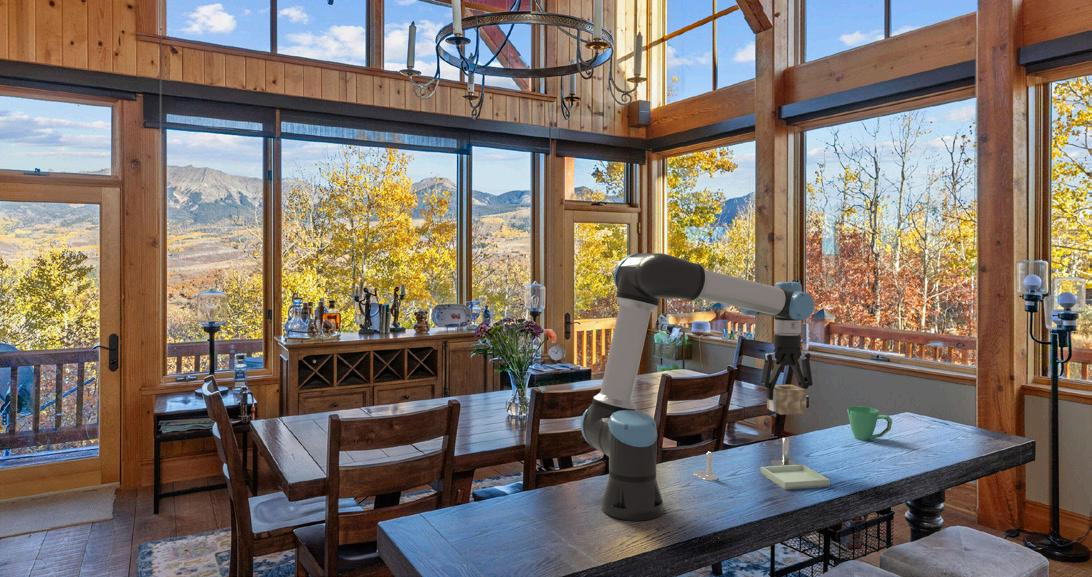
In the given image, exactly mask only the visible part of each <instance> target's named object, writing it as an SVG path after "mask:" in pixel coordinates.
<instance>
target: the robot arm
mask: <svg viewBox="0 0 1092 577" xmlns="http://www.w3.org/2000/svg"><path fill="white" fill-rule="evenodd" d="M613 283H614V284H615V286H616V289H617V290H616V295H615V300H616V301H617V303H618V305H619V306H618V310H617V316H616V320H615V324H614V329H613V333H612V334H613V335H612V338H611V342H610V347H609V352H608V355H607V356H608V357H607V360H606V361H607V362H606V364H605V369H604V374H603V379H602V383H601V388H600V392H598V393H597V394H596V395H594V396H593V398H592V401H591V405H590V406H589V407H588V408H587V409H585V411H584V412H583V414H582V416H581V419H580V430H581V434H582V437H583V438H584V440H585V441H586V443H587V444H589V445H590V446H591V447H592V448H593V449H595V450H596V451H599V452H600V453H602V454H604V455H606V456H607V457H608V480H607V482H606V486H605V488H604V492H603V495H602V497H601V498H602V499H601V510H602V511H603V512H604V513H605V514H607V515H608V516H610V517H613V518H615V519H619V520H622V521H634V522H635V521H639V522H641V521H648V520H654V519H656V518H658V517H660V516H661V515H662V514H663V513H664V499H663V496H662V493H661V490H660V487H659V483H658V481H657V454H658V453H657V450H658V449H657V448H658V447H657V444H658V442H657V441H658V440H657V439H658V431H657V423H656V421H655V419H654V418H653V417H652V416H651V415H649V414H648V413H646V412H645V413H644V412H643V411H642V412H641V411H640V412H639V411H637V410H636V405H635V404H634V402H633V395H634V390H635V387H636V386H635V385H636V382H637V376H638V373H639V368H640V365H641V364H640V362H641V360H642V359H641V358H642V354H643V350H644V345H645V340H646V336H647V331H648V327H649V324H650V318H651V314H652V312H653V311H655V310H657V309H658V308H659V304H660V299H675V300H676V299H677V300H687V301H691V302H694V301H697V299H700V300H704V301H709V302H713V303H718V304H722V305H725V306H730V307H731V306H732V307H735V308H739V309H740V311H741V313H742V314H744V315H745V316H754V317H755V316H765V317H772V318H774V328H773V332H774V333H775V334H774V336H773V346H774V350H773V351H772V352H769V353H767V352H765V353H764V354H763V359H764V365H763V369H762V375H761V382H760V386H761V387H764V388H766V400H767V399H769V409H768V410H769V411H771V412H774V413H776V391H777V390H776V389H774V387H775V385H777V383H778V380H779V377H780V375H781V372H782V371H783V369H784V367H787V366H790V367H791V369H792V371H793V375H794V376H795V379H796V382H797V385H798V387H800V388H803V389H806V390H807V389H809V387H811V386H813V377H812V370H811V363H810V359H811V353H809V352H805V351H802V350H801V346H802V336H801V335H800V334H801V333H802V321H803V320H806V319H807V320H808V318H810V317H811V316H812V315H813V312H814V309H815V301H814V299H813V296H812V295H811V294H809V293H808V292H805V291H803V289H802V288H803V286H802V284H801V283H800V282H798V281H777V282H776V283H775V284H774V285H769V284H765V283H761V282H758V281H753V280H748V279H745V278H742V277H741V278H740V277H738V276H737V277H736V276H733V275H728V274H724V273H721V272H716V271H711V270H708V269H705V267H704V265H702V264H700V263H696V262H693V261H689V260H686V259H683V258H680V257H677V256H675V255H674V256H673V255H669V254H666V253H661V252H660V253H658V252H657V253H653V252H651V253H648V252H646V253H644V252H636V253H633V254H629V255H627V256H625V257H623V258H622V259H621V260H620V261H619V262H618V263H617V264H616V267H615V268H614V272H613ZM774 358H775V361H774ZM800 359H801V361H800V362H801V364H800V362H799V360H800ZM773 361H774V365H773ZM801 369H802V370H801Z"/></svg>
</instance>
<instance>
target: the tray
mask: <svg viewBox="0 0 1092 577" xmlns="http://www.w3.org/2000/svg"><path fill="white" fill-rule="evenodd" d="M760 475H762V476H763V477H765V478H766V479H768V480H769V481H771V483H772V482H773V484H775V485H777V486H778V487H780V488H782V489H783V490H784V491H787V490H788V491H789V490H801V489H818V488H830V486H831V484H830V483H831V480H830V478H828V477H826V476H824V475H822V474H820V473H819V472H817V471H815V470H813V469H812V468H809V467H808V466H806V465H804V464H798V465H786V466H774V465H772V466H760Z"/></svg>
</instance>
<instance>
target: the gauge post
mask: <svg viewBox="0 0 1092 577" xmlns="http://www.w3.org/2000/svg"><path fill="white" fill-rule="evenodd" d="M781 454H782V456H781V457H782V459H777V460H774V459H773V460H771V461H770V464H771V465H772V466H786V465H799V464H798V463H796V462H795V461H793V460H791V459H790V437H782V453H781Z"/></svg>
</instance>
